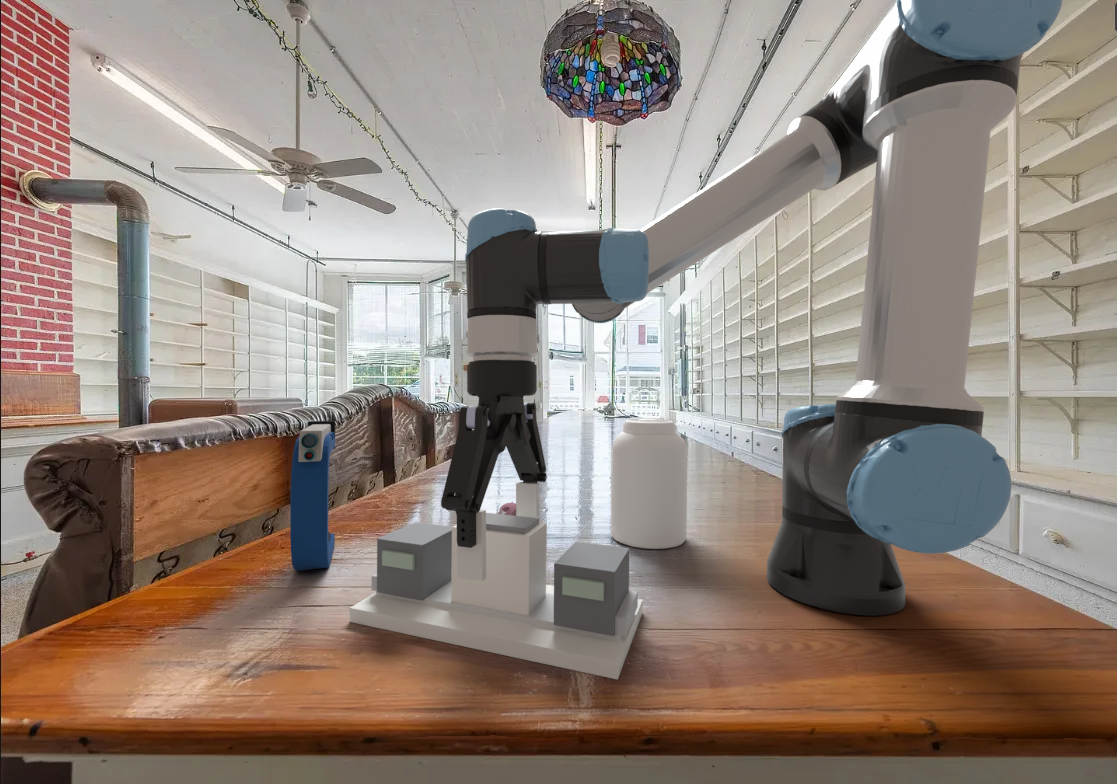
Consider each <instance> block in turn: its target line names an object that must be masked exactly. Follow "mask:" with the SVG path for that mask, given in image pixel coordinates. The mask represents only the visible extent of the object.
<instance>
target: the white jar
mask: <svg viewBox="0 0 1117 784" xmlns="http://www.w3.org/2000/svg"><path fill="white" fill-rule="evenodd" d="M675 424H676V423H675V422H674V421H673V420H670V419H660V418H659V419H658V418H629V419H626V420H625V421H624V423H623V424H622V431H621V432H620V433H619V434H618V435H617V436H616V437H615V438H614V439H613V442H612V446H611V454H610V455H611V457H610V458H611V461H610V463H611V468H610V471H611V472H610V473H611V474H610V475H611V477H610V479H611V481H610V534H611V536H612V538H613V539H614V540H615V541H617V542H619V543H620V544H623V545H625V546H626V545H627V546H630V547H634V548H637V549H638V548H640V549H645V550H646V549H647V550H649V549H650V550H662V549H663V550H665V549H669V548H670V549H671V548H676V547H679V546H681V545H683V543H684V542H685V541H686V539H687V528H688V527H687V526H688V525H687V522H688V521H687V519H688V517H687V515H688V512H687V511H688V508H687V507H688V448H687V444H686V441H685V440H684V438H683V437H681V436H680V434H679V433H677V432H676V431H677V428H676V425H675Z"/></svg>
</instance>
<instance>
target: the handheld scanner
mask: <svg viewBox="0 0 1117 784" xmlns="http://www.w3.org/2000/svg"><path fill="white" fill-rule="evenodd" d="M335 449H336V421H335V420H309V421H307V426H306V427H305V428H303V429H302V430H300V431H299V436H298V437H297V438H296V440H295V441H294V443H293V452H292V453H293V454H292V460H291V473H290V513H289V514H290V521H289V522H290V523H289V524H290V525H289V526H290V529H289V531H290V533H289V535H290V537H289V538H290V557H291V558H290V559H291V563H292V568H293V570H294V571H296V572H301V571H310V570H317V569H319V570H320V569H327V568H330V566H331V563H332V559H333V554H334V550H335V544H336V543H335V542H336V540H335V535H336V534H335V533H333V532H332V533H330V531H329V495H330V494H329V489H330V487H329V484H330V483H329V481H330V479H329V478H330V458H331V453H332V452H333V450H335Z"/></svg>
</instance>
